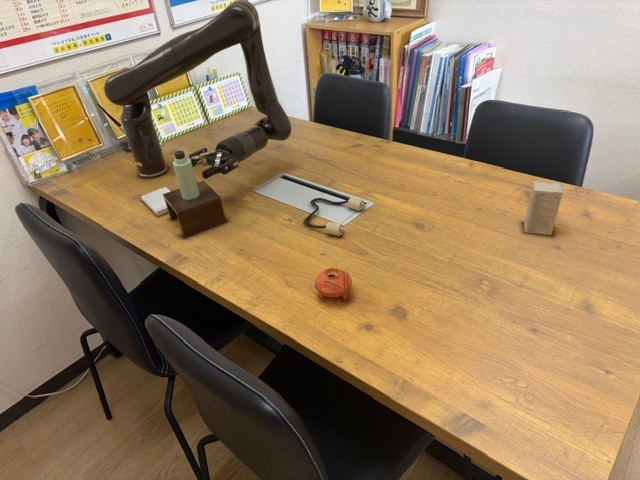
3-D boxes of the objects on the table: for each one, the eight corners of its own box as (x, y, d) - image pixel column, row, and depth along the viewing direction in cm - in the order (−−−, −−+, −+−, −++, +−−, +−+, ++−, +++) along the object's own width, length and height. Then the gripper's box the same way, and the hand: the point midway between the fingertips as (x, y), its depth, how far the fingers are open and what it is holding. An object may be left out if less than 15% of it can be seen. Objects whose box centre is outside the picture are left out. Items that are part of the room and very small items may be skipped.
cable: (288, 227, 119) (287, 216, 117) (316, 198, 130) (315, 187, 128) (341, 240, 113) (341, 229, 110) (366, 208, 124) (366, 197, 122)
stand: (170, 218, 127) (162, 194, 122) (209, 204, 132) (203, 180, 127) (184, 237, 118) (177, 212, 114) (226, 221, 123) (220, 196, 119)
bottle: (180, 194, 121) (167, 152, 113) (196, 189, 123) (184, 146, 115) (185, 201, 118) (173, 158, 110) (202, 195, 120) (190, 152, 112)
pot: (327, 312, 92) (320, 284, 89) (313, 296, 99) (307, 270, 96) (361, 298, 94) (355, 271, 92) (345, 283, 101) (340, 257, 98)
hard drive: (140, 196, 135) (156, 211, 127) (166, 186, 139) (182, 200, 131) (142, 200, 136) (158, 216, 128) (167, 190, 140) (184, 205, 132)
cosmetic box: (550, 226, 111) (562, 183, 104) (551, 236, 108) (564, 192, 101) (523, 222, 113) (533, 180, 106) (523, 232, 110) (533, 189, 103)
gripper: (217, 131, 130) (172, 153, 120) (252, 141, 122) (207, 165, 112) (222, 155, 134) (179, 177, 124) (256, 166, 127) (213, 191, 117)
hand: (192, 171), depth 118 cm, fingers open, 8 cm apart
